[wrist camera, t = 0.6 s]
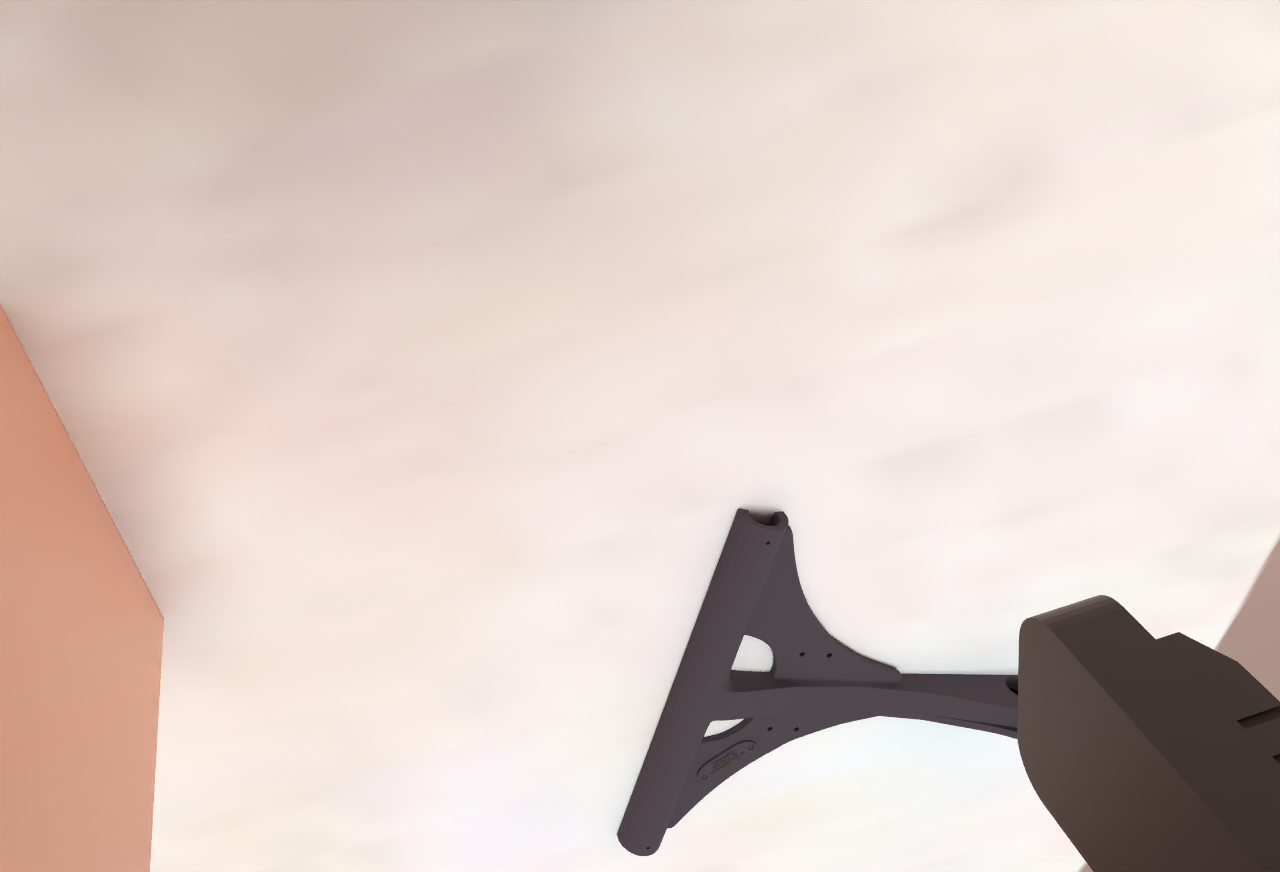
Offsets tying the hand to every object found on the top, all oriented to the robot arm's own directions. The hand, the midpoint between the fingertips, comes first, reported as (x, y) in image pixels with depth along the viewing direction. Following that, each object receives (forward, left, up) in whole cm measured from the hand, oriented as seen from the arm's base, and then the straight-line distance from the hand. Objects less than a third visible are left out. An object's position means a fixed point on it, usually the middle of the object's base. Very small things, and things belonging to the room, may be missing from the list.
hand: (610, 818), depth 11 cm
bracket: (+25, +11, -22) cm, 35 cm away
